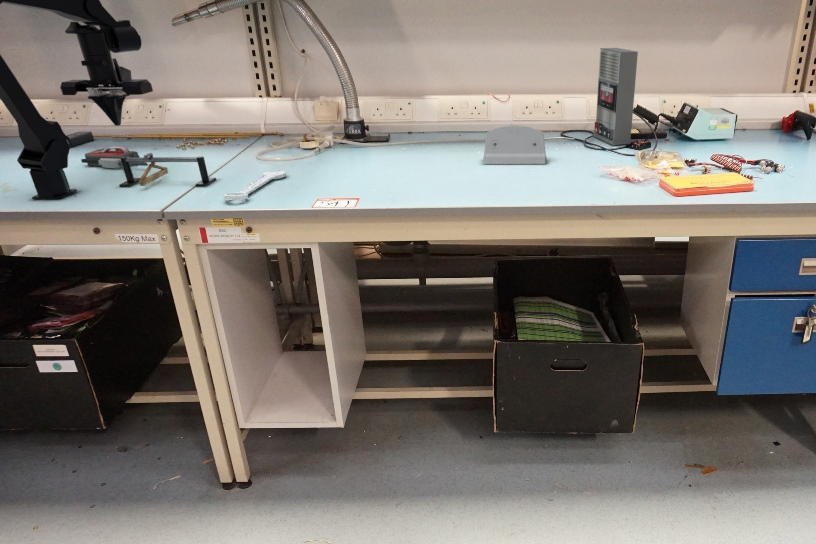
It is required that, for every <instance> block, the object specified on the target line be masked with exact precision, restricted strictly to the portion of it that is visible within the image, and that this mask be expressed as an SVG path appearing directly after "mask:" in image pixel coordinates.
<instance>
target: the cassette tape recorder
mask: <svg viewBox="0 0 816 544" xmlns="http://www.w3.org/2000/svg"><path fill="white" fill-rule="evenodd" d="M638 54H639V51H637V50H631V49H626V48H620V47H604V48H603V47H601V48H599V62H598V64H599V65H598V66H599V67H598V79H597V80H598V81H597V82H598V83H597V98H596V115H595V121H594V128H593V129H594V130H593V132H592V133H593V137H594V138H597V139H599V140H601V141H603V142H604V143H606V144H609V145H611V146H614V147H615V146H620V145H628V146H629V145H631V144H632V127H633V114H634V103H635V90H636V89H635V88H636V77H637V64H638V56H639V55H638Z"/></svg>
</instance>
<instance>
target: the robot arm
mask: <svg viewBox="0 0 816 544" xmlns="http://www.w3.org/2000/svg"><path fill="white" fill-rule="evenodd" d="M1 4H4V5H10V6H11V5H12V6H15V7H22V8H28V9H34V10H39V11H40V10H41V11H47V12H50V13H53V14H56V15H57V16H60V17H61V18H65V19H67V20H71V21H70V23H69V25H68V27H66V29H65V30H64V32H65V34H67V35H76V38H77V42H78V45H79V48H80V52H81V55H82V57H83V60H81V61H80V62H81V66H82V67H86V70H87V71H86V72H87V74H88V77H89V79H70V80H66V81H61V83H60V87H59V89H60V91H61V94H62V96H76V95H77V94H78V93H87V94H88V96H87V99H88V100H91V101H93V102H94V103H95V104H96V105H97V106H98V107H99V108H100V109H101V111H102V112H103V113H104V114H105V115H106V117H108V119H109V120H110V121H111V122H112V123H113V125H114V126H117V127H119V126H122V116H123V115H122V113H123V106H124V101H125V100H126V98H127V97H130V96H139V95H140V96H141V95H145V94H148V93H153V92H154V89H153V86H152V83H151V82H150V81H149V80H148V79H146V78H136V79H135V78H134V79H133V77H132V76H133V75H132V70H131V69H128V68H126V67H124V66H120V65H119V62H118V60H117V58H115V57H114V58H113V56H112V53H114V54H118V53H119V54H120V53H131V52H139V51H140V50H141V48H142V37H141V35H140V34H139V32H138V31H137V29H136V28H135V27H134V26H133V25H132V24H131V21H130V20H129V19H118V20H116V19H115V18H114V17H113V16H112V14H110V12H109V11H108V10H107V9H106V8H105V7H104V6H103V5H102V2H101V0H0V5H1ZM79 22H81V23H83V24H80V23H79ZM98 27H99V28H98ZM0 101H1V102H2V104H3V105H4V106H5V108H6V109H7V111H8V112H9V113H10V115H11V116H12V118H13V120H14V121H15V122H16V124H17V130H18V137H19V139H20V141H21V143H22V145H23V148H22V150H21V152H20V154H19V155H18V157H17V159H16V161H17V162H18V164H19V166H20V167H21V168H22V169H27V170H29V171H28V172H29V175H30V177H31V179H32V183H33V185H34V188H35V191H36V193H37V194H35V195H32V196H31V199H32V200H61V199H65V198H66V197H68V196H70V195H72V194H74V193H77V192H78V189H77V188H71V187H70V184H69V181H68V178H67V175H66V172H65V170H64V169H67V168H68V167H69V153H70V150H71V147H70V145H69V143H68V141H67V140H66V139H69V137H67V136H66V134H65V133H64V131H63V128H62V127H61V125H60V123H59V122H58V121H54V120H46V119H45V118H44V117H43V116H42V115H41V114H40V112H39V110H38V109H37V107H36V106H35V104H34V103H33V101H32V100H31V98H30V96H29V94H27V92H26V91H25V89H24V88H23V86H22V85H21V83H20V82H19V80H18V79H17V77H16V75H15V74H14V73H13V70H12V69H11V68H10V67H9V65H8V64H7V62H6V60H5V59H4V57H3V56H2V54H0Z"/></svg>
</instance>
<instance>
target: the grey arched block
mask: <svg viewBox="0 0 816 544" xmlns="http://www.w3.org/2000/svg"><path fill="white" fill-rule="evenodd" d="M485 135H486V136H485V143H484V149H483V151H484V152H483V164H484V165H546V160H547V153H546V145H545V144H546V143H545V136H544V133H543V131H542V130H539V129H537V128H534V127H530V126H525V125H507V126H500V127H497V128H494V129H490V130H489V131H487V133H485Z"/></svg>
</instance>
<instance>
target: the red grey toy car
mask: <svg viewBox="0 0 816 544" xmlns="http://www.w3.org/2000/svg"><path fill="white" fill-rule="evenodd" d="M84 157H85V158H81V159H80V161H81V163H82V164H87V166H88V167H103V168H106V169H119V168H123V166H122V163H121V160H120V158H121V157H128V158H135V157H140V154H139V153H138V151H135V150H129V148H128V147H127V146H117V145H116V146H115V145H113V146H110V147H107V148H106V147H100V148H96V149H95V150H92V151H89V152H86V153H84ZM129 163H130V167H142V166H144V167H148V166H149V164H148V162H129Z"/></svg>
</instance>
